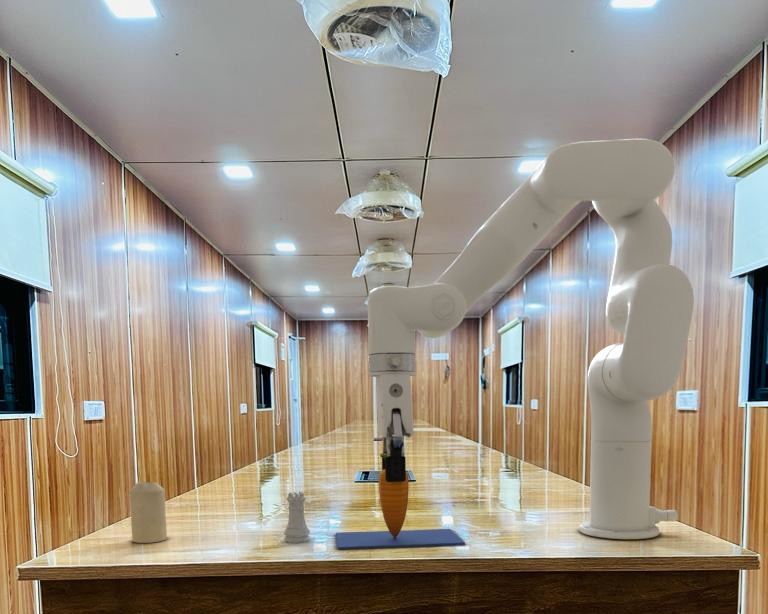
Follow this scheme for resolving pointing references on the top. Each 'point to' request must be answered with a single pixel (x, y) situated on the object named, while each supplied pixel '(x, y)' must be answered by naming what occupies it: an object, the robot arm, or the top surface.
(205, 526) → the top surface
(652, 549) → the top surface
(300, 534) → the rook chess piece
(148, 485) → the candle
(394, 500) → the carrot
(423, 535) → the napkin
